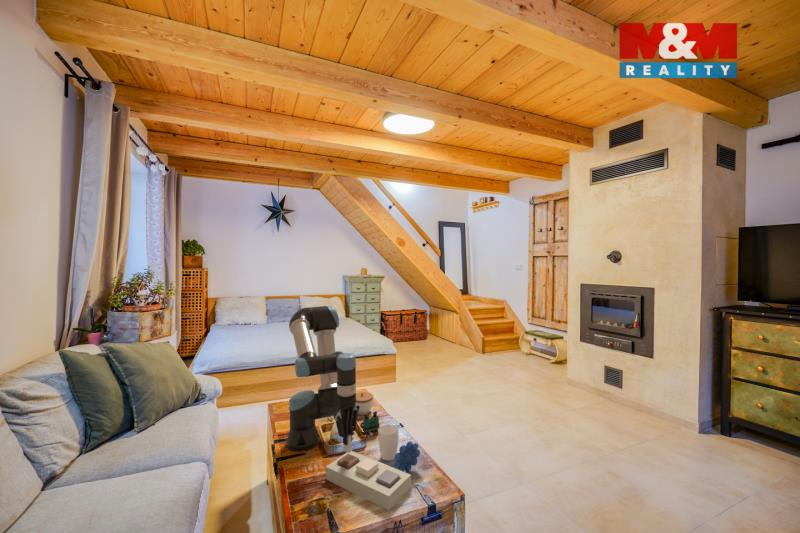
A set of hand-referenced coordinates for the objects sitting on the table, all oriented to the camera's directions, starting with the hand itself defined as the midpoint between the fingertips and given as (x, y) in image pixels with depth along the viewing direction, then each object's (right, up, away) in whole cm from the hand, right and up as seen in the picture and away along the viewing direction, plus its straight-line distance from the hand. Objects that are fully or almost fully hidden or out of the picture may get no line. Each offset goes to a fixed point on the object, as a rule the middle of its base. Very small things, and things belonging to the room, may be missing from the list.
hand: (347, 450), depth 139 cm
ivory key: (+9, -6, -6) cm, 12 cm away
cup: (+16, -9, +12) cm, 22 cm away
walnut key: (0, -7, 0) cm, 7 cm away
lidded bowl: (0, -9, +57) cm, 57 cm away
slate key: (+17, -7, -12) cm, 22 cm away
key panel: (+9, -9, -6) cm, 14 cm away
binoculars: (+6, -9, +34) cm, 35 cm away
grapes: (+24, -9, +2) cm, 25 cm away
